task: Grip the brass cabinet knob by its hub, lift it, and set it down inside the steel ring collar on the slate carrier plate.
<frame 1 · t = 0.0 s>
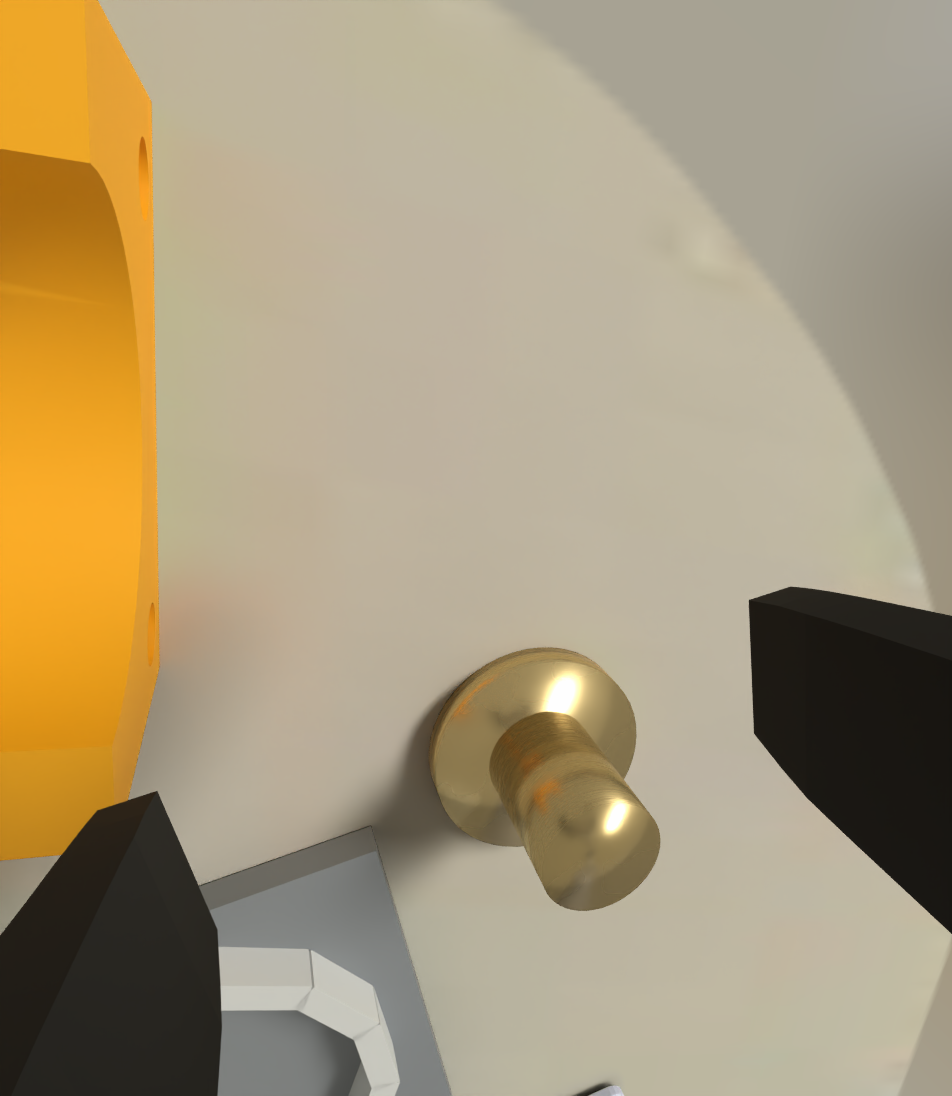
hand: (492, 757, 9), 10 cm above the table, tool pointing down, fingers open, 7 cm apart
carrier plate: (221, 1048, 22), on the table
brass cabinet knob: (527, 738, 21), on the table
pipe clamp: (46, 406, 15), on the table
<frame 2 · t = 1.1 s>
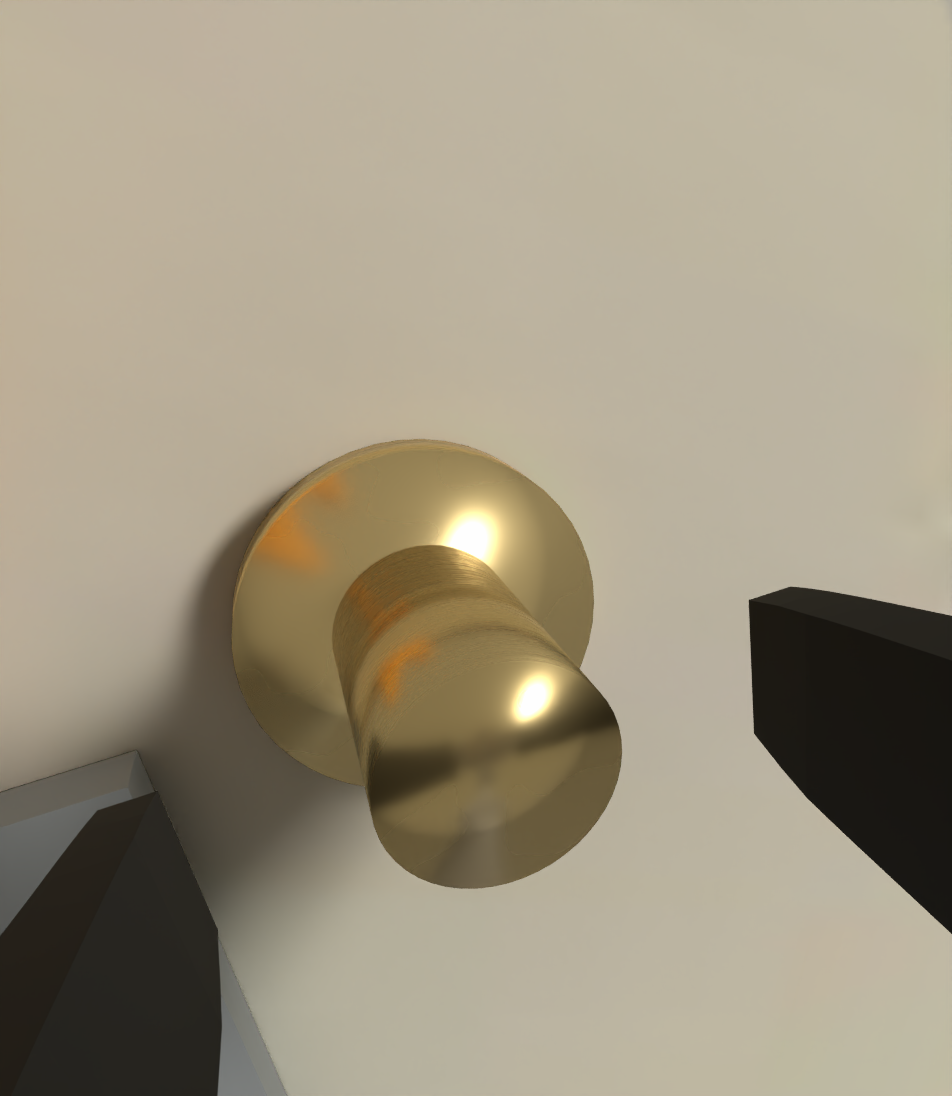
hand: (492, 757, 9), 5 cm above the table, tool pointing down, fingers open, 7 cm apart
brass cabinet knob: (412, 607, 13), on the table
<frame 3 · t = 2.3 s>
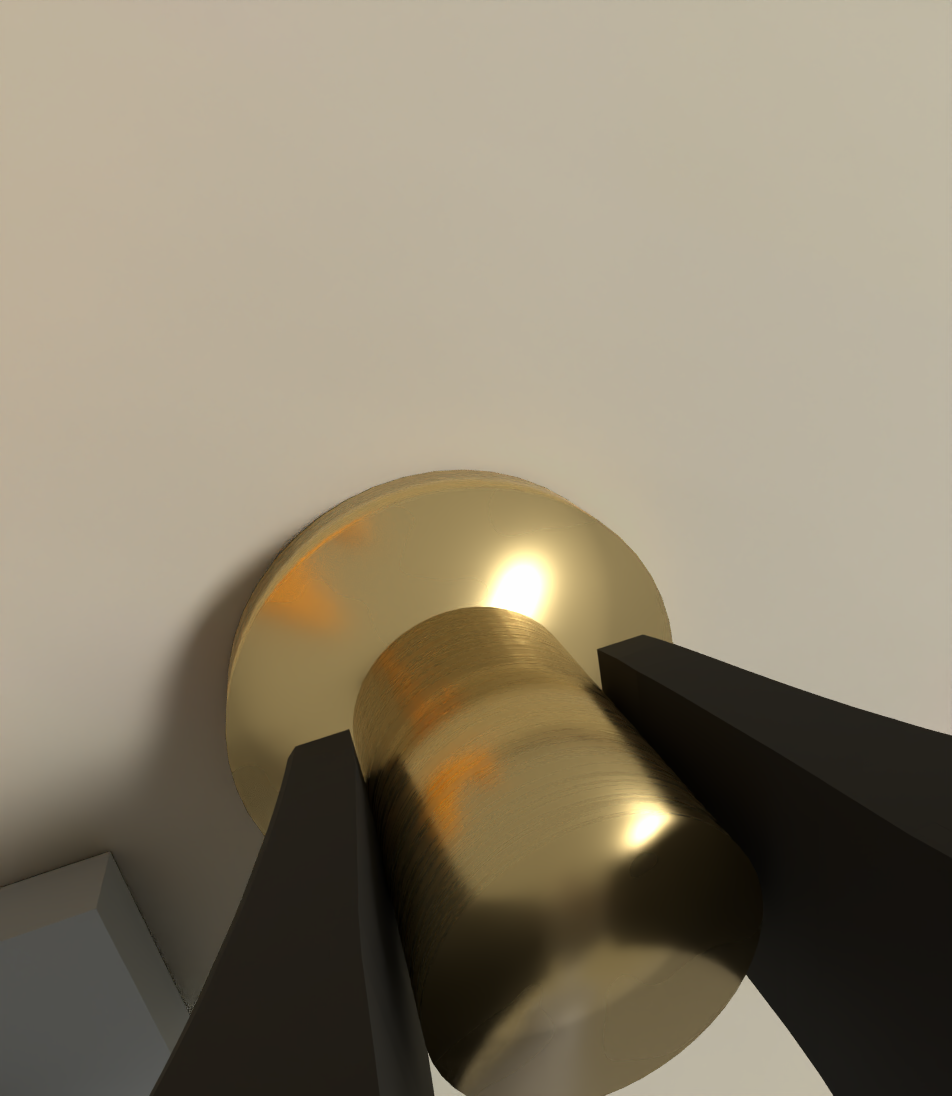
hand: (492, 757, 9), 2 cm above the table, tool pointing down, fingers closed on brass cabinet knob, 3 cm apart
brass cabinet knob: (449, 675, 10), on the table, touching gripper
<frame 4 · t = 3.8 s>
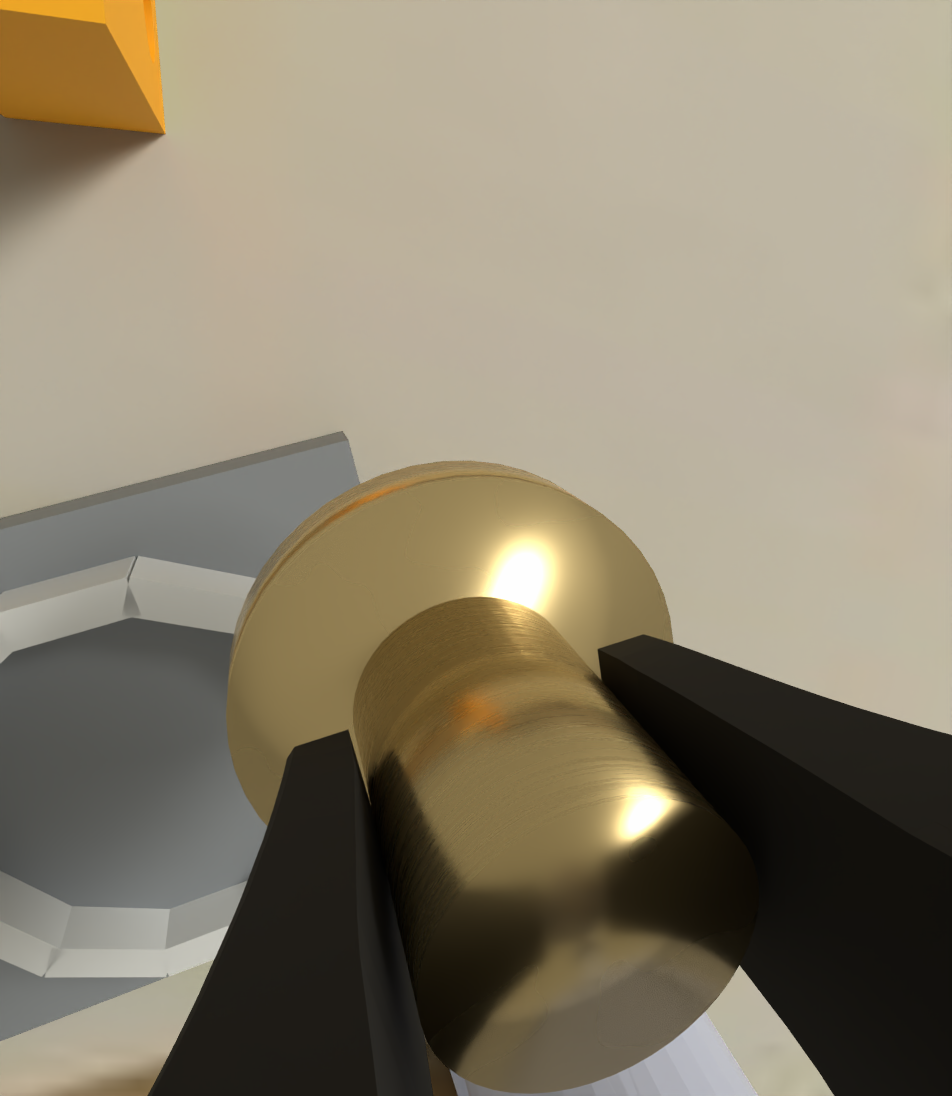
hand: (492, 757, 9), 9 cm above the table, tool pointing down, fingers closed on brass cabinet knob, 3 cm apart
carrier plate: (160, 738, 17), on the table
brass cabinet knob: (449, 666, 10), point 7 cm above the table, touching gripper
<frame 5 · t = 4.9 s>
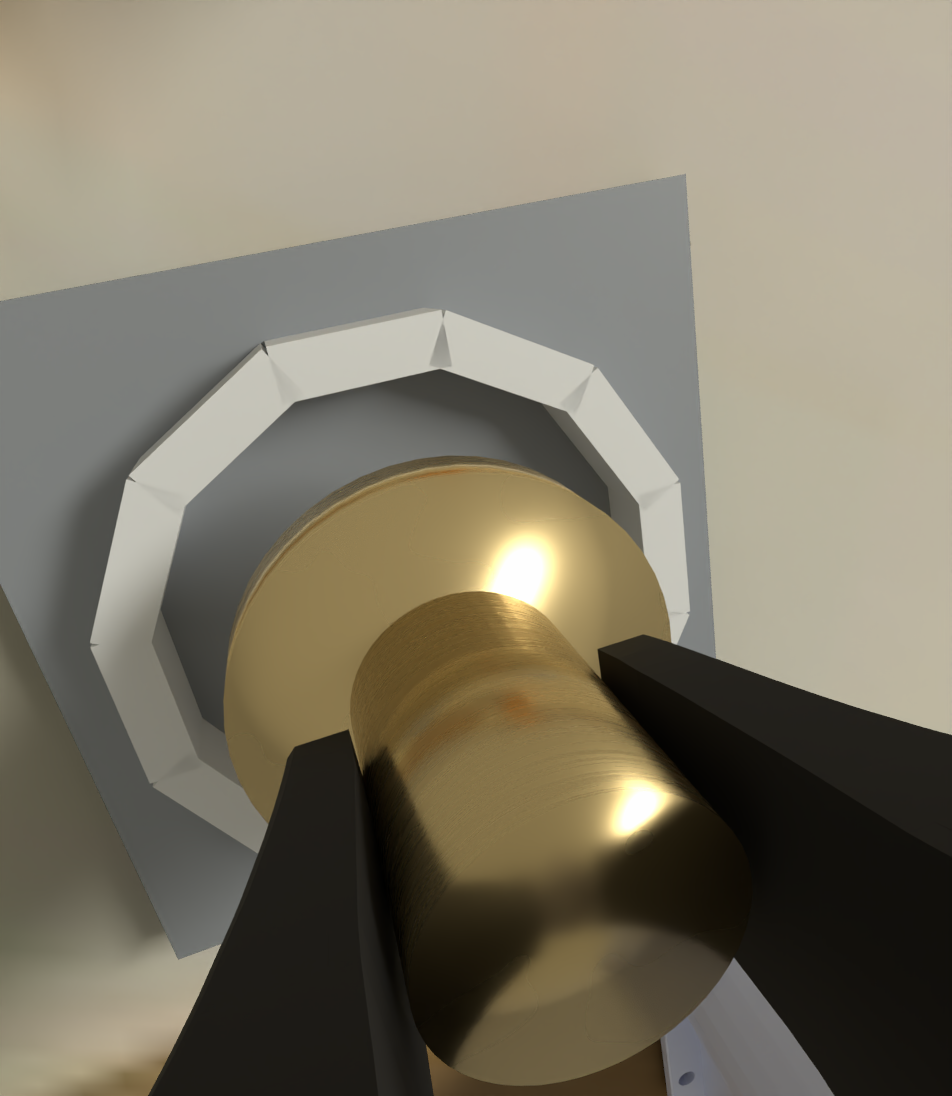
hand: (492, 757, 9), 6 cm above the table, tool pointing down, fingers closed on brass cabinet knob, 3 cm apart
carrier plate: (400, 579, 14), on the table
brass cabinet knob: (447, 661, 10), point 4 cm above the table, touching gripper
when the fingers open (4 cm above the table, at t = 5.6 s): brass cabinet knob stays where it is, resting on carrier plate.
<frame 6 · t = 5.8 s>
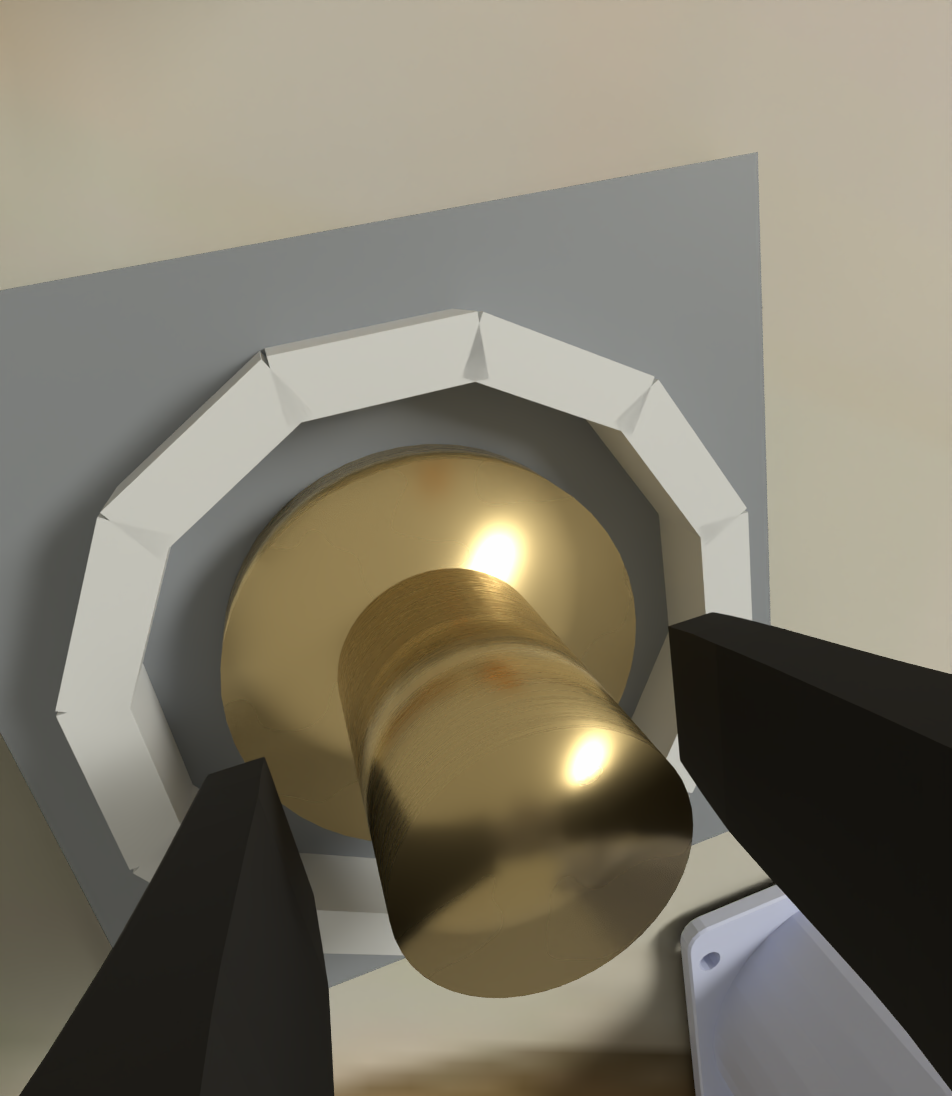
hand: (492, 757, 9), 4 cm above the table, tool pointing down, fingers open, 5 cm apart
carrier plate: (420, 618, 12), on the table
brass cabinet knob: (428, 636, 11), point 1 cm above the table, touching carrier plate
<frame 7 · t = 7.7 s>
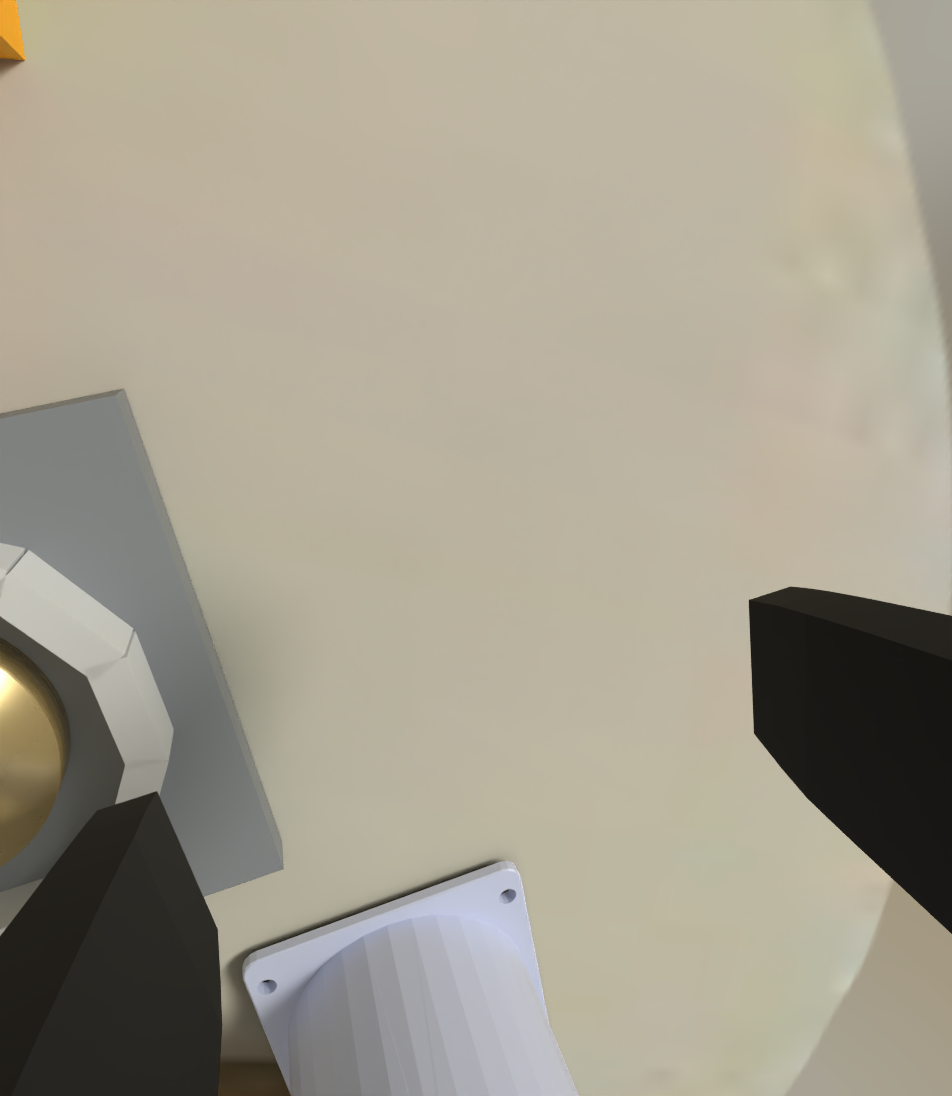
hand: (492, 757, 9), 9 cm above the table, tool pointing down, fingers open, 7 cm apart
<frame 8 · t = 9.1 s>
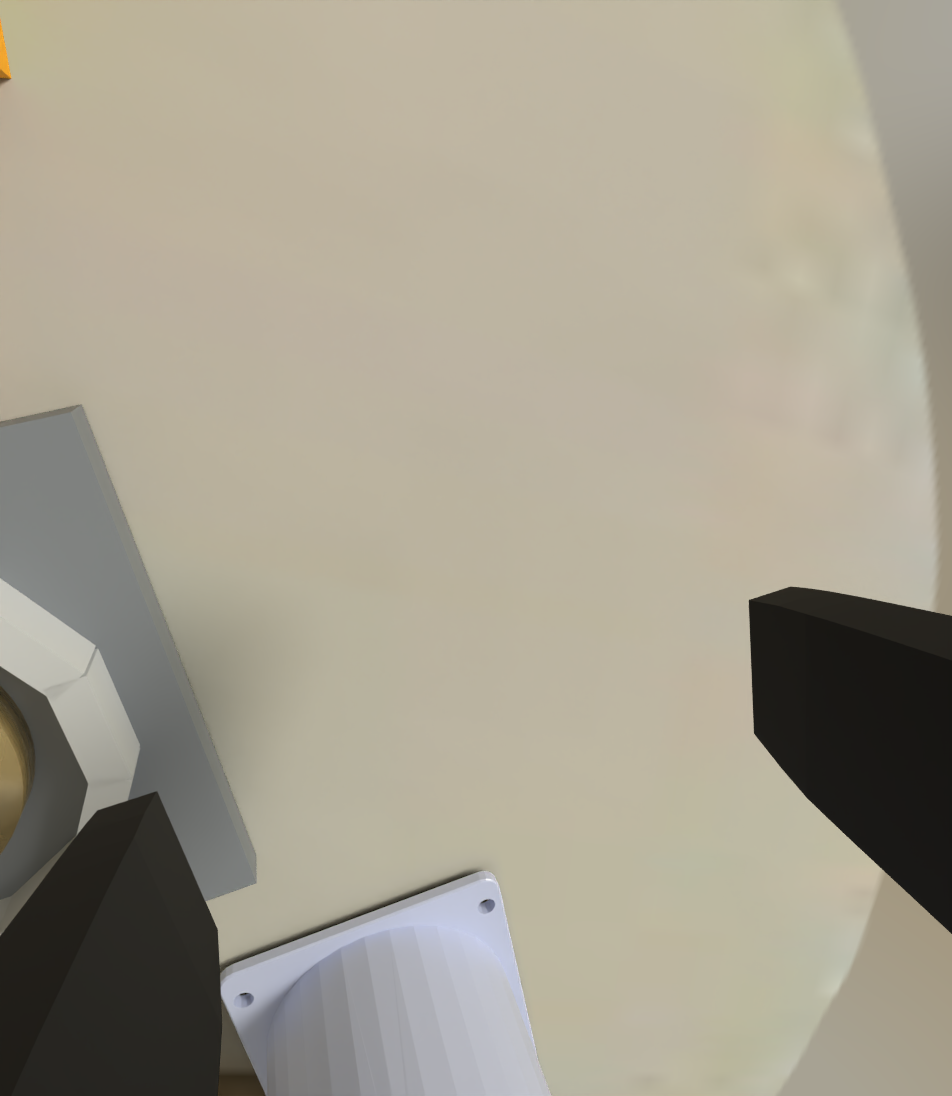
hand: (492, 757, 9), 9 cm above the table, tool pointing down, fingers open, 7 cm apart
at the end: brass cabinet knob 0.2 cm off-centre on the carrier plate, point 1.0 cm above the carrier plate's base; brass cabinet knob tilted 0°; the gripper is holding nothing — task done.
